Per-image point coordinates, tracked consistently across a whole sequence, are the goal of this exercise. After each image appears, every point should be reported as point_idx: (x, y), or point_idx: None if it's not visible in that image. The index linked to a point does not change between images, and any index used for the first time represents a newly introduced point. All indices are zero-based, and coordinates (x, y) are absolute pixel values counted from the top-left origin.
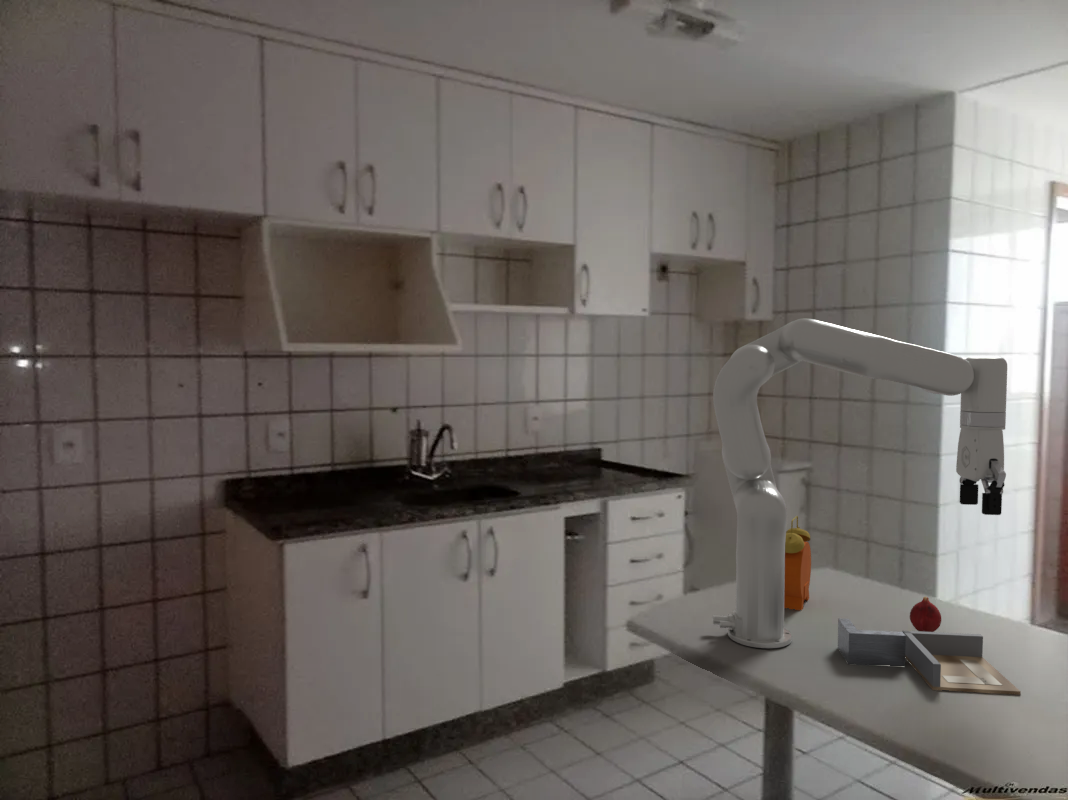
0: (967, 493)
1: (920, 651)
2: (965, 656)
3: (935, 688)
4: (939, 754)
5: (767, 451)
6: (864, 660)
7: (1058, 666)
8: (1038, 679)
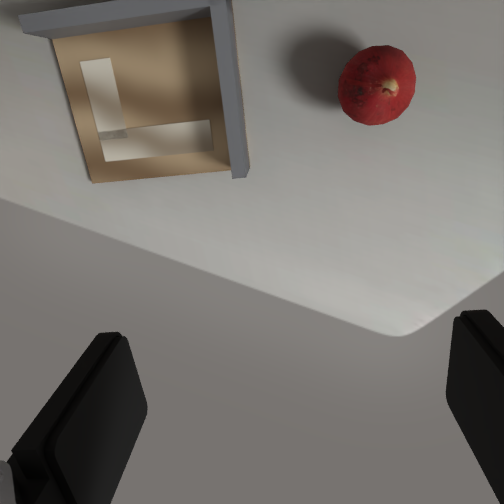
0: (493, 406)
1: (96, 4)
2: None
3: None
4: None
5: None
6: None
7: (242, 283)
8: (174, 233)
